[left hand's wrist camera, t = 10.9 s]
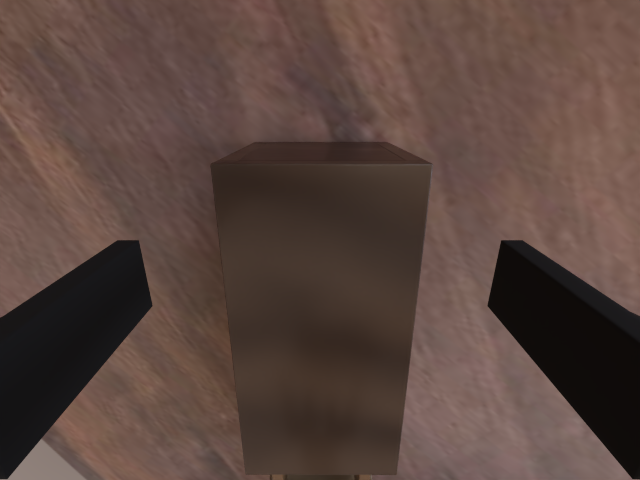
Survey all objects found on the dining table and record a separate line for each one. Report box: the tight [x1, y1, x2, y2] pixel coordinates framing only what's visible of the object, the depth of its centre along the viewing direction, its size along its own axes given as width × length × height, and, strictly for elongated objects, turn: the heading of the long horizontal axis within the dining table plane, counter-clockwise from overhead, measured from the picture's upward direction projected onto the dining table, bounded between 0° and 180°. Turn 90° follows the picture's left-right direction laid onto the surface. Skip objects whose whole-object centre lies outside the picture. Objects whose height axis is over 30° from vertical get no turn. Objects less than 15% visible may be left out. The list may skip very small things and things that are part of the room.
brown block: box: [211, 142, 433, 475], centre depth 24 cm, size 21×10×11 cm, turn 0°
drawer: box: [270, 475, 372, 480], centre depth 29 cm, size 26×9×9 cm, turn 0°
